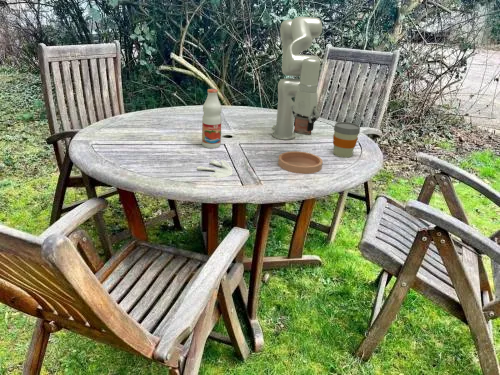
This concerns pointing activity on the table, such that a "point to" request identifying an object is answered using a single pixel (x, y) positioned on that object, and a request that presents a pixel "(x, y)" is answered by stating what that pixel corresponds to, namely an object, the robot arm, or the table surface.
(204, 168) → the cream glove
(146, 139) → the table surface
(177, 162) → the table surface
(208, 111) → the fruit juice
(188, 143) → the table surface
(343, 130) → the reusable coffee cup
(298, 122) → the lighter
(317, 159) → the round bowl
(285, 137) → the robot arm
